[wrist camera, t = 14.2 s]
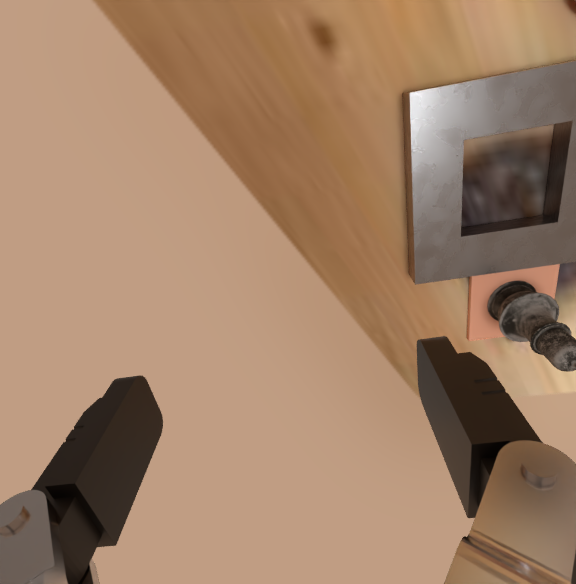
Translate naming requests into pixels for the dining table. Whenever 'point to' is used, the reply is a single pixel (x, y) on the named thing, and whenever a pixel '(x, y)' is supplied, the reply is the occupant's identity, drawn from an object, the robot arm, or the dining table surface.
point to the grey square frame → (449, 173)
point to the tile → (486, 284)
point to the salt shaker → (533, 322)
